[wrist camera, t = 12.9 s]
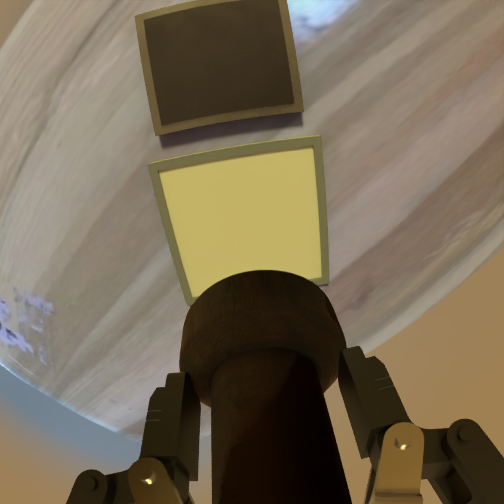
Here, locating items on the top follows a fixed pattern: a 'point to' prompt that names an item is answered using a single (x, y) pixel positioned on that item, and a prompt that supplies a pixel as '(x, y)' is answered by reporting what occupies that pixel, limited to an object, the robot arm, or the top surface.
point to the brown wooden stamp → (267, 387)
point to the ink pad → (218, 62)
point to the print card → (245, 211)
